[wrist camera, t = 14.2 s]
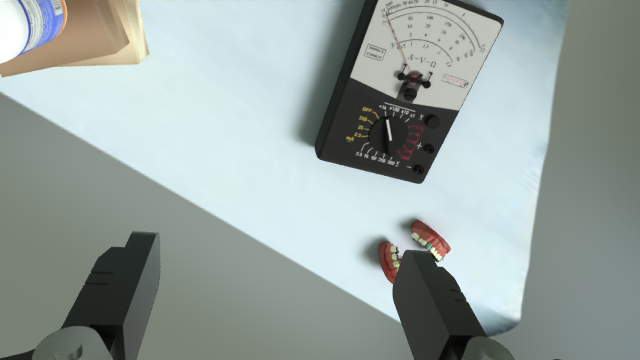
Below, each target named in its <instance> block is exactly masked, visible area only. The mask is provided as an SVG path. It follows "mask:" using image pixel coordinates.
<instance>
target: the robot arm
mask: <svg viewBox="0 0 640 360" xmlns="http://www.w3.org/2000/svg"><path fill="white" fill-rule="evenodd" d="M159 280H160V236H159V233H155V232H140V231H133V232H132V233H131V235H130V237H129V239H128V242H127V244H126V246H125V248H124V247H111V248H110V249H108V250H107V251H106V252H105V253H103V254H102V255H101V256H100V257H99V258H98V259H97V261H96V263H95V265H94V267H93V269H92V270H91V274H89V276H88V278H87V280H86V282H85V285H84V286H83V288H82V290H81V291H80V293H79V295H78V297H77V299H76V301H75V303H74V305H73V307H72V308H71V310H70V312H69V315H68V316H67V318H66V320H65V322H64V324H63V326H62V327H61V329H60V330H58V331H55V332H53V333H52V334H50V335H49V336H47V337H46V338H44V339H43V340H42V341H41V342H40V343H39V344H38V346H37V347H36V349H33V350H31V351H28V352H25V353H21V354H18V355H13V356H9V357H5V358H1V359H0V360H136V359H137V356H138V352H139V349H140V346H141V343H142V339H143V336H144V333H145V330H146V326H147V323H148V320H149V317H150V313H151V310H152V307H153V304H154V300H155V297H156V294H157V290H158V286H159ZM393 301H394V304H395V307H396V309H397V312H398V315H399V318H400V321H401V323H402V326H403V329H404V332H405V334H406V337H407V340H408V343H409V346H410V349H411V352H412V354H413V357H414V360H515V359H514V357H513V355H512V354H511V353H510V351H508V349H507V348H505V347H504V346H503V345H502V344H500V343H499V342H497V341H496V340H493V339H491V338H488V337H487V336H486V334H485V332H484V330H483V328H482V327H481V325H480V323H479V321H478V319H477V318H476V316H475V314H474V312H473V311H472V309H471V307H470V305H469V303H468V302H466V298H465V296H464V294H463V293H462V292H461V289H460V287H459V285H458V284H457V282H456V280H455V278H454V277H453V276H452V275H451V274H450V273H449V272H448V271H446V270H445V269H444V268H443V267H437V265H436V263H435V261H434V259H433V257H432V255H431V253H430V252H428V251H418V250H406V251H405V252H404V254H403V257H402V260H401V263H400V266H399V268H398V271H397V274H396V277H395V280H394V283H393ZM555 360H558V359H555Z"/></svg>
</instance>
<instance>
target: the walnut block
mask: <svg viewBox="0 0 640 360" xmlns="http://www.w3.org/2000/svg"><path fill="white" fill-rule="evenodd" d="M65 3H66V7H67V21H66V24H65V27H64V29H63V30H62V32H61V33H60V34H59V35H58V36H57V37H56V38H54V39H53V40H51V41H49V42H47V43H45V44H43V45H41V46H38V47H36V48H34V49H32V50H30V51H28V52H26V53H23V54H21V55H19V56H17V57H15V58H13V59H11V60H9V61H6V62H4V63H1V64H0V74H1V76H2V77H7V76H12V75H17V74H21V73H26V72H31V71H36V70H40V69H45V68H50V67H55V66H60V65H64V64H69V63H74V62H79V61H84V60H88V59H93V58H98V57H103V56H108V55H112V54H116V53H117V52H119V51H120V50H121V49H123V48H124V47H125V46H127V45H128V44H129V43H130V41H129V39H128V37H127V34H126V32H125V29H124V27H123V24H122V22H121V19H120V17H119V14H118V12H117V9H116V7H115V4H114V2H113V0H65Z"/></svg>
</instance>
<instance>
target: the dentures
mask: <svg viewBox="0 0 640 360" xmlns="http://www.w3.org/2000/svg"><path fill="white" fill-rule="evenodd" d="M411 229H412V235H411V237H412V238H413V240H415V241H416V242H420V243H421V244H422V245H424V246H425V245H426V247H427V249H429V250H428V252H430V253H431V255H432V257H433V259H434V261H436V262H437V263H439V262H441V261H442V260H443V258H444V256H445V255H446V253H448V252H449V251H450V250H451V249H450V246H449V245H448V243H447V242H446V241H445V240H444V239H443V238H442V237H441V236H440V235H439V234H437V233H436V232H435V231H434V230H433V229H431V228H430V227H429V226H427V225H426V224H424V223H423V222H421V221H419V220H417V221H416V222H414V223H413V225H412V228H411ZM398 253H399V251H398V247H396V245H393V244H391V243H387V242H385V243H381V244H380V245H379V257H380V263H381V266H382V269H383V272H384V274H385V276H386V277H387V279H388V280H389V281H390V282H391V283H392V284H393V283H394V280H395V277H396V274H397V271H398V268H399V266H400V263H401V260H399V259H398V255H397V254H398Z"/></svg>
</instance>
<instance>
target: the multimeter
mask: <svg viewBox="0 0 640 360" xmlns="http://www.w3.org/2000/svg"><path fill="white" fill-rule="evenodd" d="M503 23H504V20H503V19H502V18H501V17H499V16H497V15H494V14H492V13H489V12H487V11H484V10H481V9H479V8H476V7H474V6H471V5H469V4H466V3H463V2H461V1H458V0H366V1H365V4H364V7H363V9H362V12H361V15H360V18H359V21H358V24H357V26H356V29H355V32H354V35H353V38H352V41H351V43H350V46H349V49H348V52H347V55H346V57H345V60H344V63H343V66H342V69H341V72H340V74H339V77H338V80H337V83H336V86H335V89H334V91H333V94H332V97H331V100H330V103H329V106H328V108H327V111H326V114H325V117H324V120H323V122H322V125H321V128H320V131H319V134H318V137H317V139H316V142H315V152H316V155H317V157H318V158H319V159H320V160H323V161H327V162H331V163H335V164H339V165H344V166H348V167H352V168H356V169H360V170H364V171H368V172H372V173H376V174H380V175H384V176H388V177H392V178H396V179H400V180H404V181H408V182H412V183H417V184H421V183H422V182H423V181H424V179H425V177H426V175H427V173H428V171H429V169H430V167H431V165H432V164H433V162H434V160H435V158H436V156H437V154H438V152H439V150H440V148H441V146H442V144H443V142H444V140H445V138H446V136H447V134H448V132H449V130H450V128H451V126H452V124H453V122H454V120H455V118H456V117H457V115H458V113H459V111H460V109H461V107H462V105H463V103H464V101H465V99H466V97H467V95H468V93H469V91H470V89H471V87H472V85H473V83H474V81H475V79H476V77H477V75H478V73H479V71H480V70H481V68H482V66H483V64H484V62H485V60H486V58H487V56H488V54H489V52H490V50H491V48H492V46H493V44H494V42H495V40H496V38H497V36H498V34H499V32H500V30H501V28H502V26H503Z"/></svg>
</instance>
